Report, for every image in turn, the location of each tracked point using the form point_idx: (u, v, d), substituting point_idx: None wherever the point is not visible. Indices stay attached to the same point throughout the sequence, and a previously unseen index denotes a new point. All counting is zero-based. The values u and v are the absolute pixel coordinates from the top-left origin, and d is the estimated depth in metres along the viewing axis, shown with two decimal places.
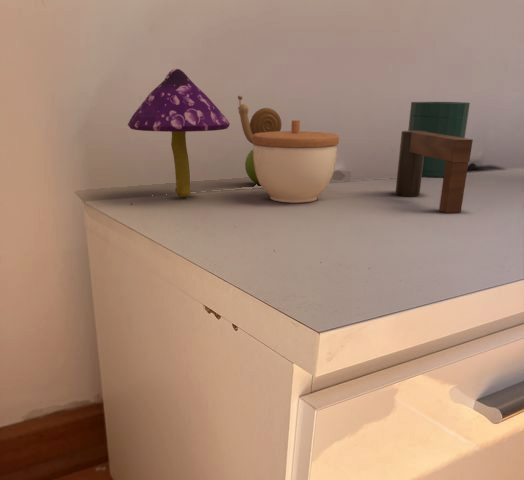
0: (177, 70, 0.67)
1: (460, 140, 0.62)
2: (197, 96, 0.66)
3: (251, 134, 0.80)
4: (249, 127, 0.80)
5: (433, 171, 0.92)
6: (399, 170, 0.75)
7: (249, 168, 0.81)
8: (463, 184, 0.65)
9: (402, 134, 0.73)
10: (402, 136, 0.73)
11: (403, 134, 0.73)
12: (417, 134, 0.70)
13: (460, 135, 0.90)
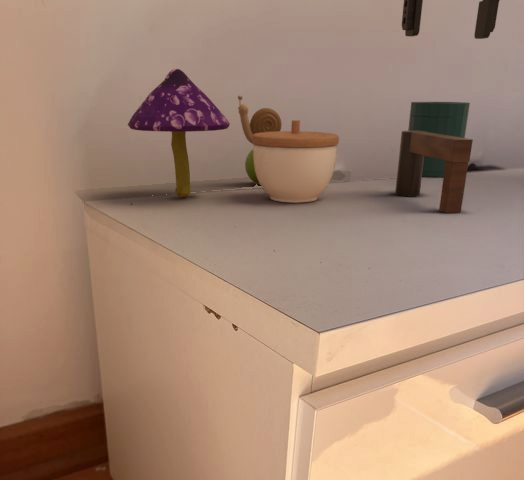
0: (177, 70, 0.67)
1: (460, 140, 0.62)
2: (197, 96, 0.66)
3: (251, 134, 0.80)
4: (249, 127, 0.80)
5: (433, 171, 0.92)
6: (399, 170, 0.75)
7: (249, 168, 0.81)
8: (463, 184, 0.65)
9: (402, 134, 0.73)
10: (402, 136, 0.73)
11: (403, 134, 0.73)
12: (417, 134, 0.70)
13: (460, 135, 0.90)
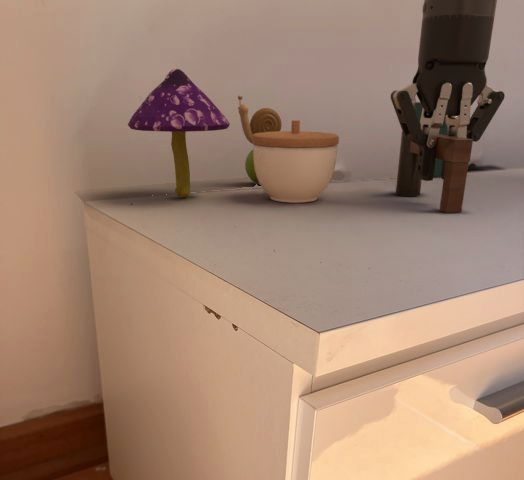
0: (177, 70, 0.67)
1: (460, 140, 0.62)
2: (197, 96, 0.66)
3: (251, 134, 0.80)
4: (249, 127, 0.80)
5: None
6: (399, 170, 0.75)
7: (249, 168, 0.81)
8: (463, 184, 0.65)
9: (402, 134, 0.73)
10: (402, 136, 0.73)
11: (403, 134, 0.73)
12: None
13: None
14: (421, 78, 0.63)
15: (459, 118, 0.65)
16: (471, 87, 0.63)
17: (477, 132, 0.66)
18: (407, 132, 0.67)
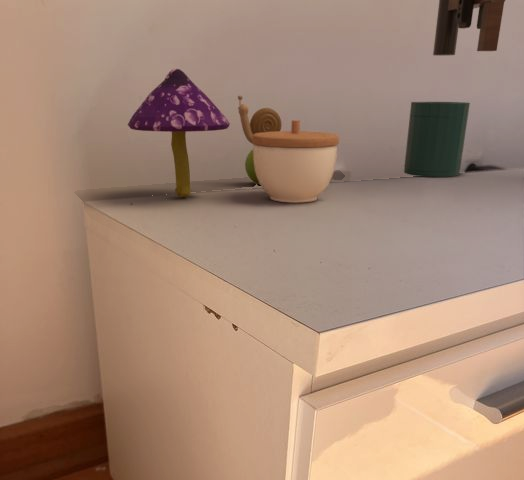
0: (177, 70, 0.67)
1: None
2: (197, 96, 0.66)
3: (251, 134, 0.80)
4: (249, 127, 0.80)
5: (433, 171, 0.92)
6: (437, 30, 0.84)
7: (249, 168, 0.81)
8: (499, 23, 0.74)
9: None
10: None
11: None
12: None
13: (460, 135, 0.90)
14: None
15: None
16: None
17: None
18: None
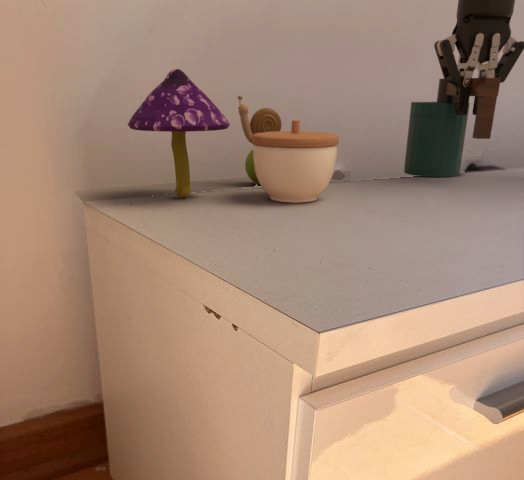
0: (177, 70, 0.67)
1: (491, 78, 0.79)
2: (197, 96, 0.66)
3: (251, 134, 0.80)
4: (249, 127, 0.80)
5: (433, 171, 0.92)
6: None
7: (249, 168, 0.81)
8: (492, 115, 0.81)
9: (440, 81, 0.90)
10: (440, 82, 0.90)
11: (441, 81, 0.90)
12: None
13: (460, 135, 0.90)
14: (459, 29, 0.79)
15: (489, 62, 0.82)
16: (499, 37, 0.80)
17: (503, 75, 0.83)
18: (447, 75, 0.83)
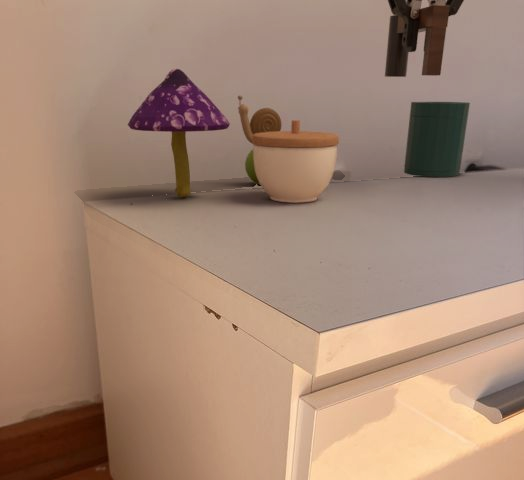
0: (177, 70, 0.67)
1: (439, 6, 0.72)
2: (197, 96, 0.66)
3: (251, 134, 0.80)
4: (249, 127, 0.80)
5: (433, 171, 0.92)
6: (388, 52, 0.85)
7: (249, 168, 0.81)
8: (442, 48, 0.74)
9: (390, 18, 0.83)
10: (390, 20, 0.83)
11: (391, 18, 0.83)
12: None
13: (460, 135, 0.90)
14: None
15: None
16: None
17: (455, 6, 0.76)
18: (393, 6, 0.76)
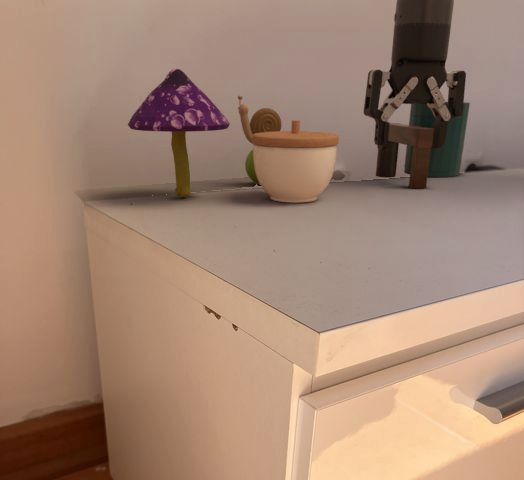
0: (177, 70, 0.67)
1: (424, 129, 0.78)
2: (197, 96, 0.66)
3: (251, 134, 0.80)
4: (249, 127, 0.80)
5: (433, 171, 0.92)
6: (378, 155, 0.91)
7: (249, 168, 0.81)
8: (427, 165, 0.80)
9: None
10: None
11: None
12: (392, 125, 0.86)
13: (460, 135, 0.90)
14: (393, 73, 0.78)
15: (436, 103, 0.81)
16: (433, 79, 0.79)
17: (458, 108, 0.82)
18: (367, 107, 0.81)
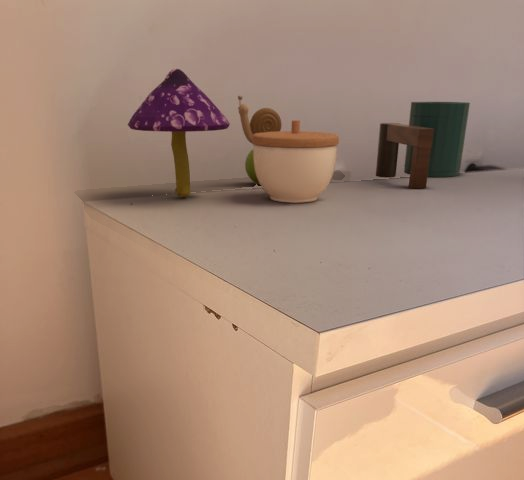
0: (177, 70, 0.67)
1: (424, 129, 0.78)
2: (197, 96, 0.66)
3: (251, 134, 0.80)
4: (249, 127, 0.80)
5: (433, 171, 0.92)
6: (378, 155, 0.91)
7: (249, 168, 0.81)
8: (427, 165, 0.80)
9: (380, 126, 0.89)
10: (380, 127, 0.89)
11: (381, 126, 0.89)
12: (392, 125, 0.86)
13: (460, 135, 0.90)
14: None
15: None
16: None
17: None
18: None
